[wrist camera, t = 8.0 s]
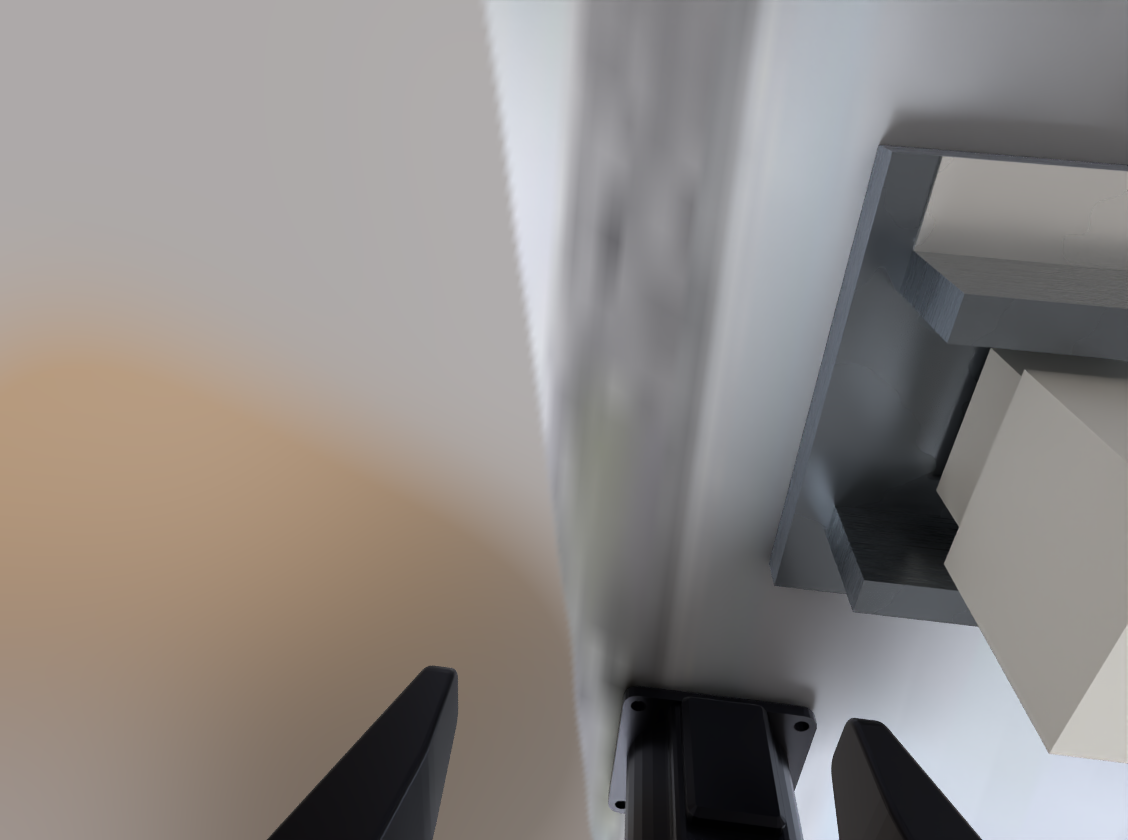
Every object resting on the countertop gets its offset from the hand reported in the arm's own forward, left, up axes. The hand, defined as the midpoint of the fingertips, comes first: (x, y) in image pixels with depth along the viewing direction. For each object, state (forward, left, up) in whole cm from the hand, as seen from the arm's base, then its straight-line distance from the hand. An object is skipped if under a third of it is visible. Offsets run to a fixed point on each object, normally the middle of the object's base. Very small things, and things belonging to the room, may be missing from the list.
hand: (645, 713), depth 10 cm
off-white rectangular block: (0, -9, -10) cm, 13 cm away
